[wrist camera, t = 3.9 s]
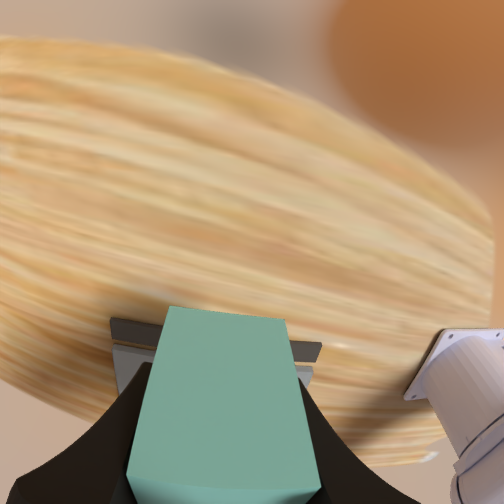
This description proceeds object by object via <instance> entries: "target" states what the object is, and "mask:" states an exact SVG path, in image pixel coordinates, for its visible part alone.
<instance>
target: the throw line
mask: <svg viewBox="0 0 504 504" xmlns="http://www.w3.org/2000/svg"><path fill="white" fill-rule="evenodd" d="M110 326H111V335H112V339H116V340H121V341H126V342H132V343H137V344H143V345H149V346H155V347H158V343H159V340H160V336H161V333H162V330H163V326H158V325H152V324H146V323H140V322H134V321H128V320H123V319H117V318H112V317H111V319H110ZM290 346H291V350H292V355H293V359H294V362H316V360H317V357H318V355H319V352H320V350H321V347H322V343H321V342H304V341H290Z"/></svg>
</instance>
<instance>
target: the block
mask: <svg viewBox="0 0 504 504" xmlns="http://www.w3.org/2000/svg"><path fill="white" fill-rule="evenodd" d="M126 475H127V478H128V481H129V483H130V486H131V488H132V491H133V493H134V496H135V498H136V500H137V503H138V504H306V502H307V501H308V500H309V499H310V498H311V497H312V496H313V495H314V494H315V493H316V492H317V491H318V490H319V489H320V488H321V484H320V479H319V474H318V469H317V465H316V460H315V455H314V450H313V446H312V441H311V436H310V432H309V427H308V422H307V418H306V413H305V409H304V404H303V399H302V395H301V390H300V386H299V381H298V377H297V372H296V368H295V363H294V359H293V355H292V350H291V346H290V341H289V337H288V333H287V328H286V324H285V320H284V319H277V318H267V317H257V316H248V315H239V314H230V313H222V312H214V311H206V310H199V309H191V308H184V307H177V306H169V309H168V313H167V316H166V319H165V323H164V326H163V330H162V333H161V336H160V340H159V343H158V347H157V351H156V354H155V358H154V361H153V365H152V369H151V372H150V376H149V380H148V384H147V388H146V392H145V395H144V399H143V403H142V407H141V411H140V416H139V420H138V424H137V428H136V433H135V437H134V441H133V446H132V450H131V455H130V459H129V464H128V469H127V474H126Z"/></svg>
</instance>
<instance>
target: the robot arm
mask: <svg viewBox="0 0 504 504" xmlns="http://www.w3.org/2000/svg"><path fill="white" fill-rule="evenodd" d="M503 338H504V328H495V329H445V330H443V331H442V332H441V334H440V336H439V337H438V339H437V341H436V343H435V345H434V347H433V348H432V350H431V352H430V354H429V355H428V357H427V359H426V361H425V362H424V364H423V366H422V367H421V369H420V371H419V372H418V374H417V376H416V377H415V379H414V380H413V382H412V384H411V385H410V387H409V388H408V390H407V391H406V393H405V394H404V396H403V397H404V399H405V400H406V401H408V400H416V399H424V398H427V399H428V400H429V402H430V404H431V406H432V408H433V409H434V411H435V413H436V415H437V417H438V419H439V421H440V422H441V424H442V426H443V428H444V430H445V432H446V434H447V436H448V438H449V440H450V442H451V444H452V446H453V448H454V449H455V451H456V453H457V456H458V458H459V460H458V461H457V462H456V463H455V464H453V466H454V469H455V471H456V474H455V475H454V476H453V479H452V482H451V491H450V497H451V502H452V504H504V340H503ZM152 365H153V363H151V362H143V363H142V364H141V365H140V367H139V369H138V370H137V372H136V373H135V375H134V376H133V378H132V379H131V381H130V382H129V384H128V385H127V386H126V388H125V389H124V390H123V392H122V393H121V394H120V395H119V397H118V398H117V399H116V401H115V402H114V403H113V404H112V405H111V406H110V408H109V409H108V410H107V411H106V412H105V413H104V414H103V415H102V417H101V418H100V419H99V420H98V421H97V422H96V423H95V424H94V425H93V426H92V427H91V428H90V429H89V430H88V431H87V432H86V433H84V435H82V436H81V437H80V438H79V439H78V440H77V441H75V442H74V443H73V444H72V445H70V446H69V447H68V448H67V449H65V450H64V451H63V452H61V453H60V454H58V455H57V456H55V457H54V458H52V459H51V460H49V461H48V462H46V463H45V464H43V465H42V466H40V467H38V468H36V469H35V470H32V471H31V472H29V473H27V474H25V475H23V476H21V477H19V478H18V479H16V481H15V483H14V485H13V487H12V488H11V491H10V493H9V496H8V499H7V502H6V504H138V503H137V500H136V498H135V496H134V493H133V491H132V488H131V486H130V483H129V481H128V478H127V475H126V474H127V469H128V464H129V459H130V455H131V450H132V446H133V441H134V437H135V433H136V428H137V424H138V420H139V416H140V411H141V407H142V403H143V399H144V395H145V392H146V388H147V384H148V380H149V376H150V372H151V369H152ZM298 381H299V386H300V390H301V395H302V399H303V404H304V409H305V413H306V418H307V422H308V427H309V432H310V436H311V441H312V446H313V450H314V455H315V460H316V465H317V469H318V474H319V479H320V484H321V488H320V489H319V490H318V491H317V492H316V493H315V494H314V495H313V496H312V497H311V498H310V499H309V500H308V501H307V502H306V504H421V503H419V502H417V501H416V500H414V499H412V498H410V497H408V496H407V495H404V494H403V493H401V492H400V491H398V490H397V489H395V488H394V487H392V486H391V485H389V484H388V483H386V482H385V481H384V480H382V479H381V478H380V477H379V476H378V475H376V474H375V473H374V472H373V471H371V470H370V469H369V468H368V467H367V466H366V465H365V464H364V463H363V462H362V461H360V460H359V459H358V458H357V457H356V456H355V454H354V453H353V452H352V451H351V450H350V449H349V448H348V447H347V446H346V445H345V444H344V442H343V441H342V440H341V439H340V437H339V436H338V435H337V434H336V433H335V431H334V430H333V429H332V427H331V426H330V425H329V423H328V422H327V420H326V419H325V417H324V416H323V415H322V413H321V412H320V410H319V409H318V407H317V406H316V404H315V402H314V401H313V399H312V398H311V396H310V394H309V393H308V391H307V389H306V388H305V386H304V384H303V383H302V381H301V379H300V378H298Z"/></svg>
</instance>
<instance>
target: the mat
mask: <svg viewBox="0 0 504 504" xmlns="http://www.w3.org/2000/svg"><path fill="white" fill-rule="evenodd" d="M155 354H156V351H152V350H146V349H140V348H135V347H129V346H124V345H119V344H114V345H113V347H112V355H113V362H114V368H115V374H116V380H117V386H118V392H119V395H120V394H121V393H122V392H123V390H124V389H125V388H126V386H127V385H128V384H129V382H130V381H131V379H132V378H133V376H134V375H135V373H136V372H137V370H138V369H139V367H140V365H141V364H142V363H143V362H151V363H153V361H154V358H155ZM295 368H296V372H297V377H298V378H300V379H301V381H302V383H303V384H304V386H305V388H306V389H307V387H308V384H309V382H310V380H311V377H312V375H313V369H312V367H311V366H295Z"/></svg>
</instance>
